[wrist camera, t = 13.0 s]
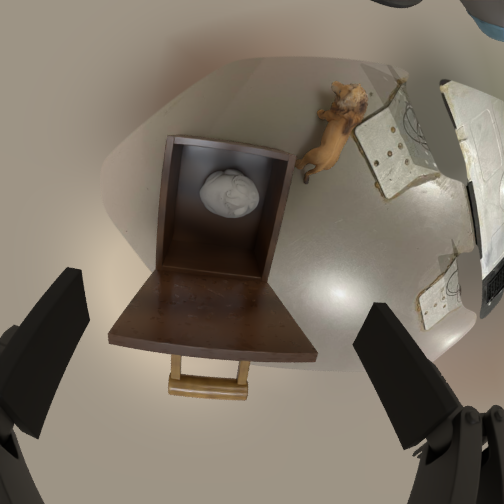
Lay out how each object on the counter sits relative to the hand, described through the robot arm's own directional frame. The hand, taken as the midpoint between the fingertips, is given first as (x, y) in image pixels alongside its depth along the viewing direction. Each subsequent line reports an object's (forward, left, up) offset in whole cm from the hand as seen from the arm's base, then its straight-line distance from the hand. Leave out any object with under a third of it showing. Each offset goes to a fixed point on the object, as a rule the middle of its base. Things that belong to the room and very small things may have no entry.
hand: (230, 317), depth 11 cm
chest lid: (+7, 0, -11) cm, 13 cm away
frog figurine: (0, +1, -27) cm, 27 cm away
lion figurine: (-10, +12, -28) cm, 32 cm away
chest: (+2, 0, -28) cm, 28 cm away
